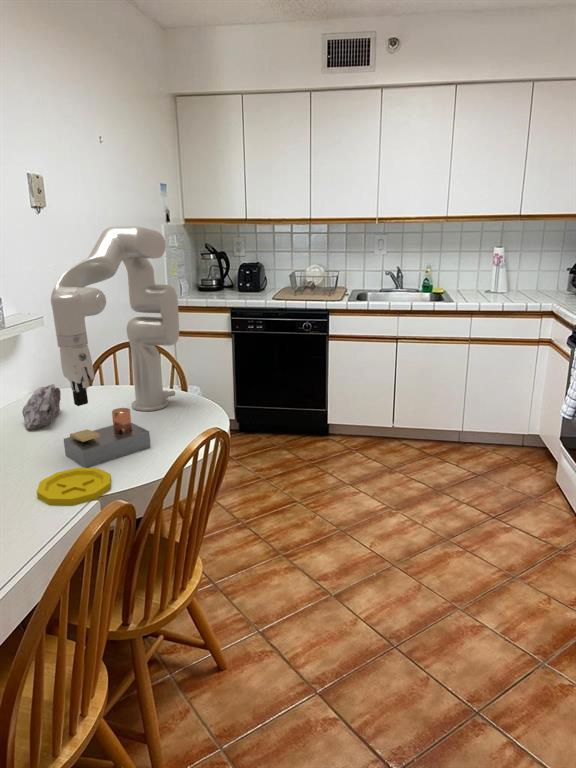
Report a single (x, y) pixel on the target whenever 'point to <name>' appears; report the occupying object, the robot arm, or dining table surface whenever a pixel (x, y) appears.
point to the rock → (42, 407)
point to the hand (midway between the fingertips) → (81, 404)
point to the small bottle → (121, 420)
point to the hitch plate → (106, 445)
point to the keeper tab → (85, 435)
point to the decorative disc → (74, 486)
